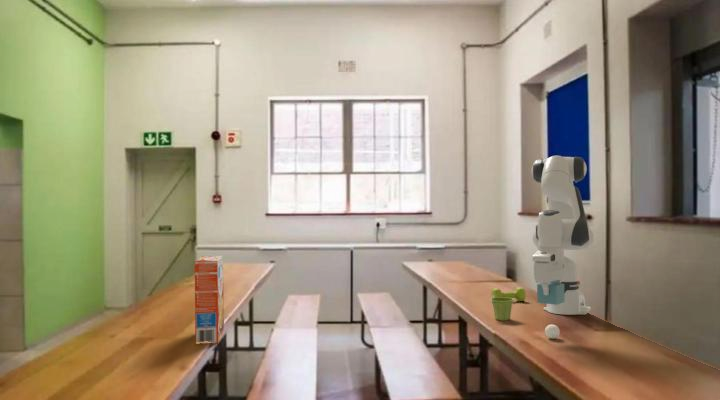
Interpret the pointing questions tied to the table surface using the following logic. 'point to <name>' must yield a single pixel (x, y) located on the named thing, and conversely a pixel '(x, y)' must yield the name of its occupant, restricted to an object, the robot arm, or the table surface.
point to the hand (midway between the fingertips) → (551, 293)
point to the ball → (552, 331)
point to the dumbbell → (510, 294)
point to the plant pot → (502, 308)
